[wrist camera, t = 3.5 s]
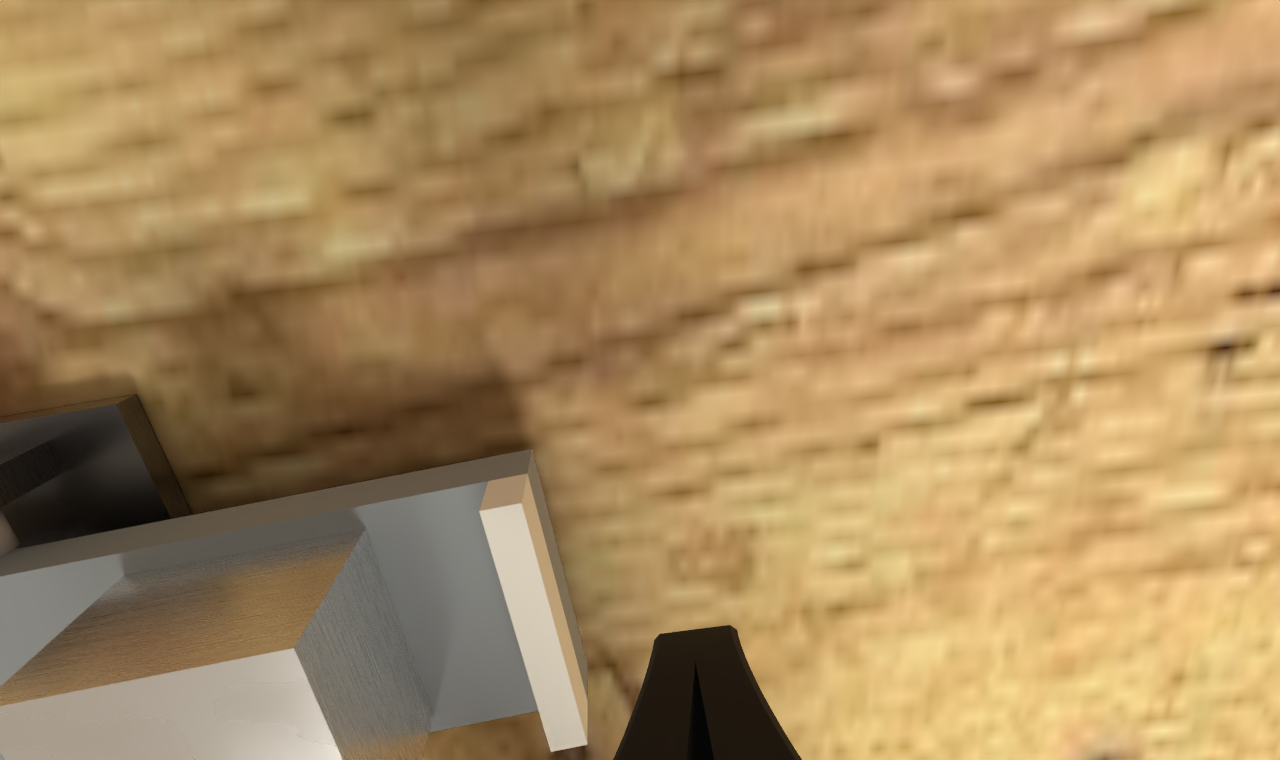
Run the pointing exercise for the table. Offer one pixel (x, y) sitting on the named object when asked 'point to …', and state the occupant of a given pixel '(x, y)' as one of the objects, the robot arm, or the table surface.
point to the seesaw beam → (410, 562)
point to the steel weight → (229, 665)
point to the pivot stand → (84, 472)
